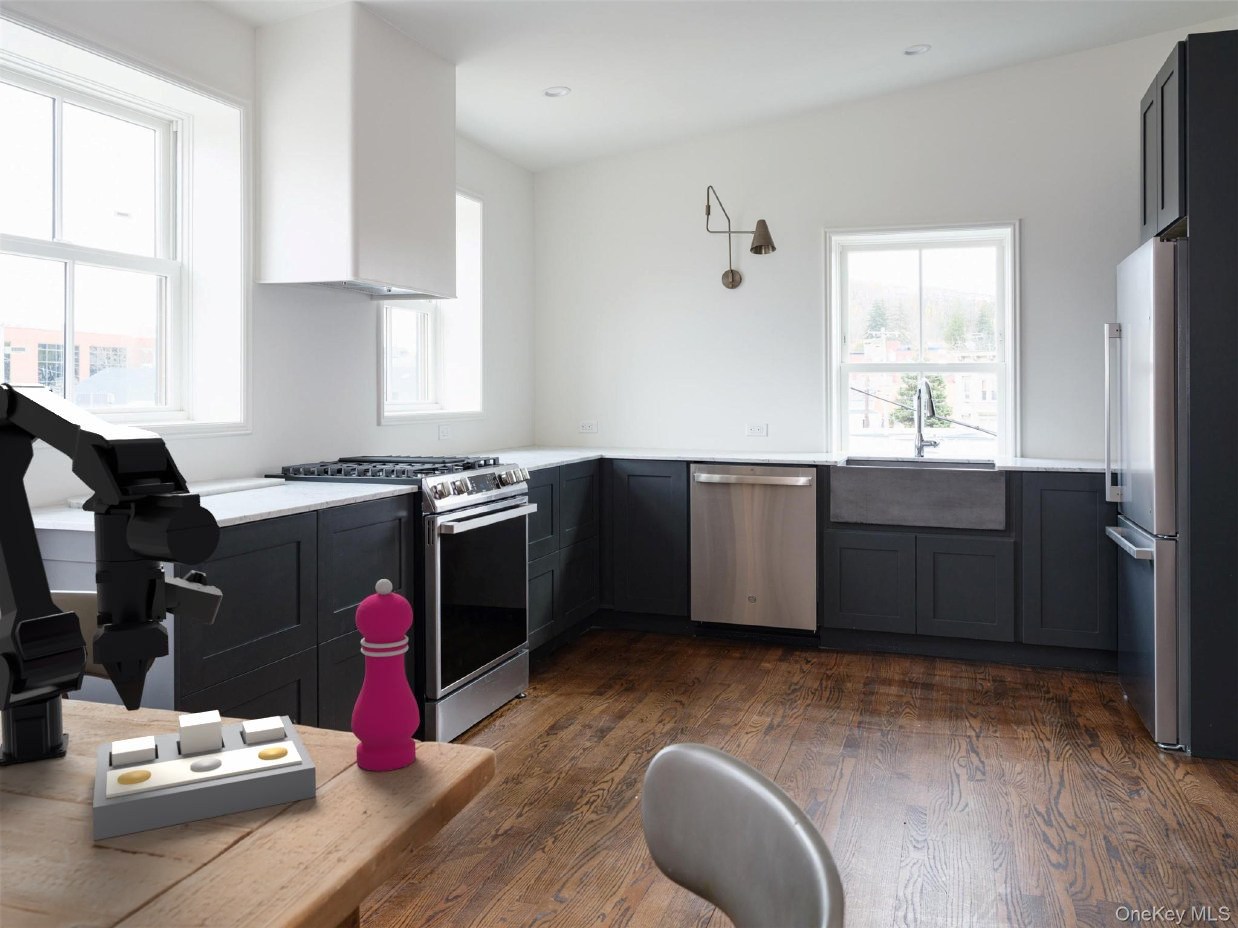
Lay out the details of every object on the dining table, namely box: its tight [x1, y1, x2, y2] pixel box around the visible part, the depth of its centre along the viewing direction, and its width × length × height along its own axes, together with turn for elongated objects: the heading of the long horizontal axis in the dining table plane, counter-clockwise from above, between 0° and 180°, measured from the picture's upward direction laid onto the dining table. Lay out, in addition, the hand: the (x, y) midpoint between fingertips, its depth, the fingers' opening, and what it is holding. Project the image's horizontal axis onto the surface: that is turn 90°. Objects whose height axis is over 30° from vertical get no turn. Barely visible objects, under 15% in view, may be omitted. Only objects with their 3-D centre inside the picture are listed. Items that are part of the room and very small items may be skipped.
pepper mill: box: [350, 578, 421, 772], centre depth 98 cm, size 7×7×20 cm
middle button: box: [178, 709, 222, 755], centre depth 95 cm, size 4×4×3 cm
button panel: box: [92, 715, 317, 842], centre depth 92 cm, size 17×19×4 cm
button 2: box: [241, 715, 284, 744], centre depth 98 cm, size 4×4×3 cm
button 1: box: [111, 735, 155, 766], centre depth 92 cm, size 4×4×3 cm
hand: (133, 709), depth 92 cm, fingers closed
